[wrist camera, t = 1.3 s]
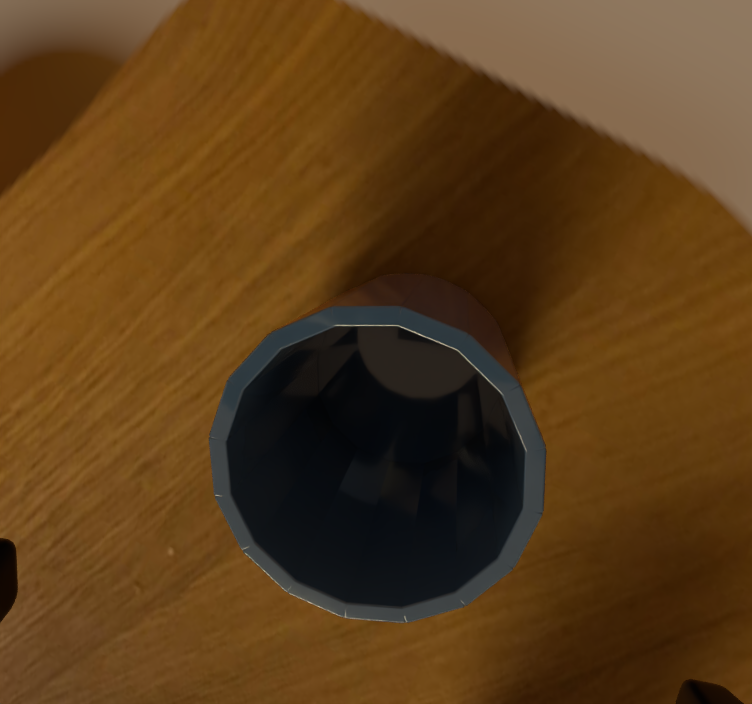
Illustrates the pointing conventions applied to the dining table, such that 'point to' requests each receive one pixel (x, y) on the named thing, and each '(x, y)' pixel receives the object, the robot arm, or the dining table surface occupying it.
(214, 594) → the dining table surface
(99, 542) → the dining table surface
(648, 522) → the dining table surface
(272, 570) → the cup
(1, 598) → the robot arm
